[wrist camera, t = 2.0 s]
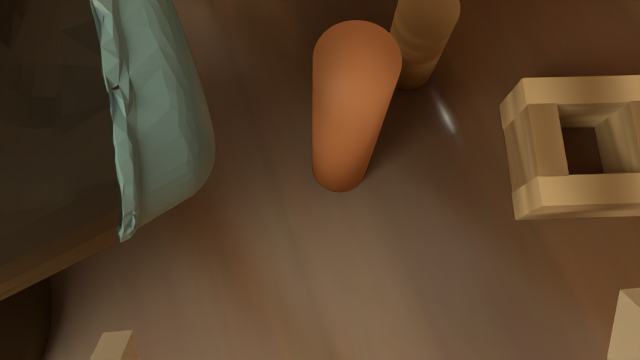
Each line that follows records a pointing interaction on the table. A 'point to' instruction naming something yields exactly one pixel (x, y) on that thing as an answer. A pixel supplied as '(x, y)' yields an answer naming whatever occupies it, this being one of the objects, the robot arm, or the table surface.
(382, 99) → the long dowel
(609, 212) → the collar block
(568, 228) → the table surface
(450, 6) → the short dowel
